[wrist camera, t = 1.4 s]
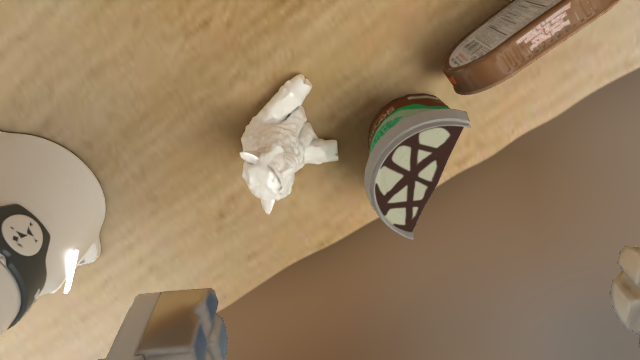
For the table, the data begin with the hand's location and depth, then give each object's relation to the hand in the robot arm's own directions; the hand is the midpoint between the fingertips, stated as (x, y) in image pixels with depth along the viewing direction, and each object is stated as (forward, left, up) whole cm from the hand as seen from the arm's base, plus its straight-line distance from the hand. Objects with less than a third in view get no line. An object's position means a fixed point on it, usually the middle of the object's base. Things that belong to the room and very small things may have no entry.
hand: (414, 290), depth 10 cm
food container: (-1, -13, -37) cm, 39 cm away
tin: (+13, -8, -37) cm, 40 cm away
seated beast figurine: (-10, -8, -37) cm, 39 cm away
